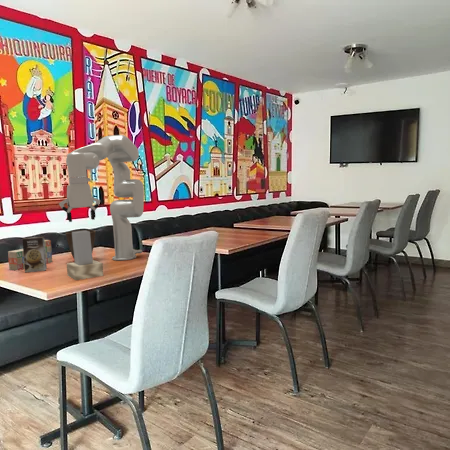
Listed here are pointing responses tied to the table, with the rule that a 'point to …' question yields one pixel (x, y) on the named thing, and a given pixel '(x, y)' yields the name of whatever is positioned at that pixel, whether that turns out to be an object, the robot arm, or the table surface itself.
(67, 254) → the table surface
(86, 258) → the grey block
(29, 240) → the coffee box
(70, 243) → the plant pot
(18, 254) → the stack of blocks
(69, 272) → the beige metal block
